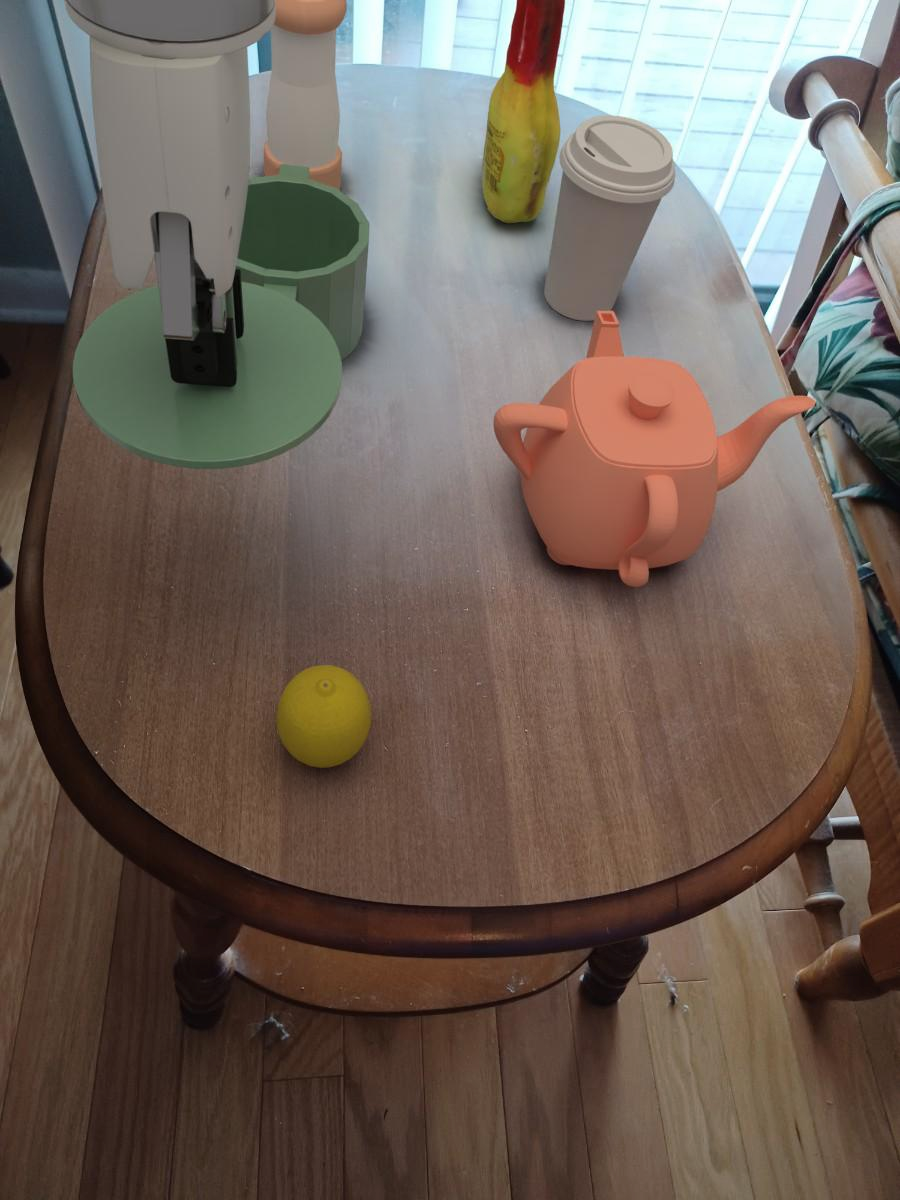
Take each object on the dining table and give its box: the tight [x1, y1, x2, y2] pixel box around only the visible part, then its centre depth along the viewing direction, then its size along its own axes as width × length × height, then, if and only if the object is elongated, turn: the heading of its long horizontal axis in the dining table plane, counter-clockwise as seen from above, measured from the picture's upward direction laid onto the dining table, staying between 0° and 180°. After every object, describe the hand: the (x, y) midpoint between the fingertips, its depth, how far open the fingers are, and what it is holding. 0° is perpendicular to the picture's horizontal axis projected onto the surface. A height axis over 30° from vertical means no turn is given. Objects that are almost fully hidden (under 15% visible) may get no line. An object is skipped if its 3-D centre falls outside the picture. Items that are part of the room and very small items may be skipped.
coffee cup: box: [543, 115, 676, 322], centre depth 81 cm, size 10×10×15 cm
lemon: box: [276, 664, 372, 769], centre depth 56 cm, size 6×6×8 cm
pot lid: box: [72, 282, 343, 470], centre depth 48 cm, size 14×14×6 cm
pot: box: [236, 164, 370, 362], centre depth 77 cm, size 13×18×10 cm
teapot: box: [492, 310, 816, 588], centre depth 68 cm, size 16×17×14 cm
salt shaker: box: [263, 0, 348, 191], centre depth 84 cm, size 7×7×19 cm
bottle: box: [480, 0, 566, 224], centre depth 86 cm, size 12×6×20 cm, turn 6°
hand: (208, 354), depth 49 cm, fingers closed on pot lid, 2 cm apart
